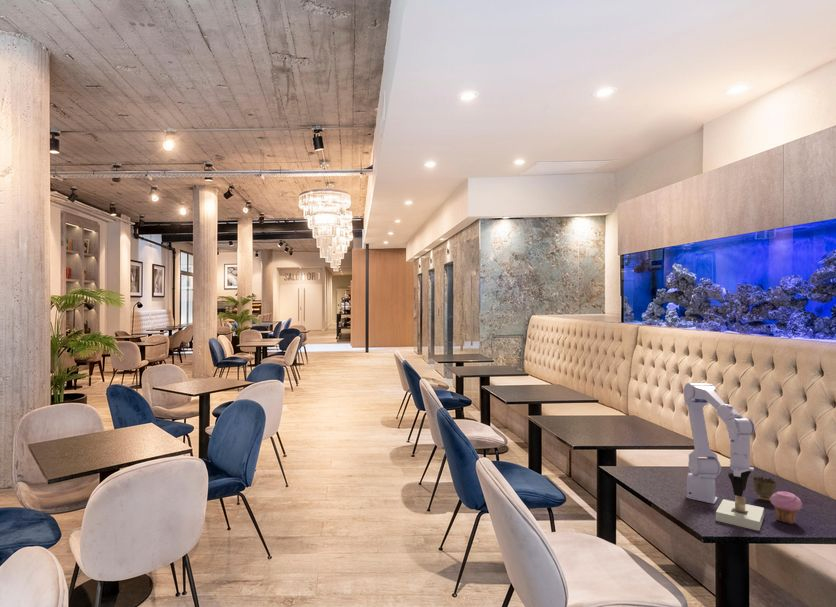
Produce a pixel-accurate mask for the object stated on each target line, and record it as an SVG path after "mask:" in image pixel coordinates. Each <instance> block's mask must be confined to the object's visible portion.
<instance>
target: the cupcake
mask: <svg viewBox="0 0 836 607" xmlns="http://www.w3.org/2000/svg"><path fill="white" fill-rule="evenodd" d="M770 503H771V504H772V505H773V506H774V513H775V515H774V517H775V519H776V520H777V521H779V522H782V523H787V524H791V525H793V524H794V523H795V519H796V518H797V514H798V512H799V510H802V509H803V503H802V500H801V499H800V497H798V496H797V495H796V494H794V493H792V492H788V491H775V493H774V494H773V495H772V496H771V497H770Z"/></svg>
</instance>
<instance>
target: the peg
mask: <svg viewBox="0 0 836 607" xmlns="http://www.w3.org/2000/svg"><path fill="white" fill-rule="evenodd" d="M734 502H735V513H739V514H744V515H745V504H746V497H745V496H743V495H742V497H740V496H736V495H734Z"/></svg>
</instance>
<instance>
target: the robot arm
mask: <svg viewBox="0 0 836 607" xmlns="http://www.w3.org/2000/svg"><path fill="white" fill-rule="evenodd" d="M682 393H683V399H684V404H685V405H686V406H687V412H688V418H689V424H690V430H691V434H692V435H691V436H692V440H693V441H692V442H693V447H694V449H693V450H692V451H691V452H690V453H689V454H688V466H687V467H688V470H689V471H690V472H688V473H687V476H686V496H685V497H686V498H687V499H690V500H693V501H694V500H695V501H699V502H704V503H708V504H712V505H713V504H714V505H715V503H717V500H718V499H719V498H718V496H716V478H718V475H720V473H721V470H722V465H721V463H720V461H719V458H718V455H717V454H716V452H714V451H712V450H711V447H710V443H709V442H710V441H709V438H708V436H709V435H708V431H707V426H706V425H707V424H706V420H705V415H704V413H705V412H704V407H705V406H707V405H711V406H712V407H713V408H714V409H715V410H716V415H717V416H718V418H720V419H721V420H722V421H723V423H724V424H725V425H726V429H727V433H728V439H729V440H730V443H729V444H730V447H729V448H730V450H729V451H730V455H729V456H730V458H729V460H730V461H729V468H730V469H731V470H732V473H731V472H728V473H727V475H728V478H729V480H730V483H731V486H732V491H733V494H734V496H740V497H742V496H743V494H744V492H745V490H746V487H747V482H748V479H749V477H750V474H751V473H752V472H754V471H755V468H754V467H753V466H752V467H751V436H752V435H753V434H754V432H755V425H754V422H753V420H752V419H751V418H749V417H745V416H742V415H741V414H740V413H739V412H738V411H737V410H736V409H735V408H734V406H733V405H732V404H728V403H725V401H723V400H722V398H721V397H720V396H719V395H718V394H717V388H716V387H715V386H714V384H712V383H711V382H710V383H709V382H707V383H702V382H701V383H700V382H699V383H697V382H696V383H695V382H692V383H691V382H687V383H686V384H685V385H684V388H683V389H682Z"/></svg>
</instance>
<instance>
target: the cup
mask: <svg viewBox="0 0 836 607" xmlns="http://www.w3.org/2000/svg"><path fill="white" fill-rule="evenodd" d="M752 480H753V487H754V491H755V493H756V494H757V495H758V498H759V500H760V501H764V502H769V501H770V502H771V496H772V495H773V494H775V493H776V489H777V488H776V486H777V480H775V481H774V479H772V478H771V477H769V478H767V476H766V477H765V478H764V477H763V476H759V475H758V476H753V477H752Z"/></svg>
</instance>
